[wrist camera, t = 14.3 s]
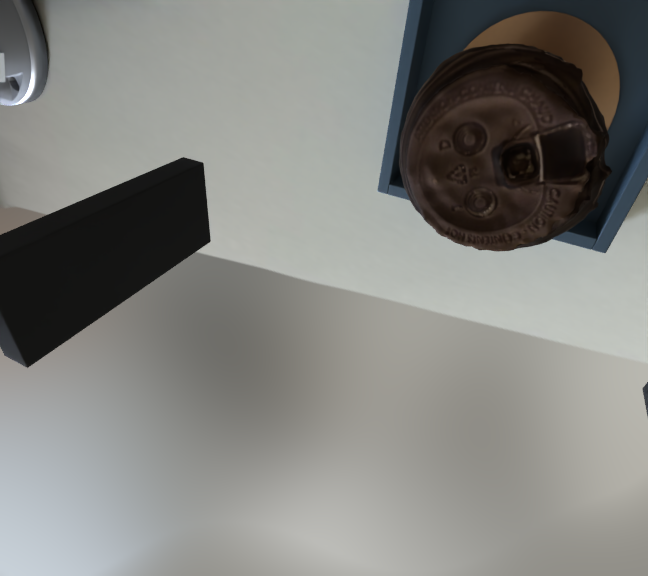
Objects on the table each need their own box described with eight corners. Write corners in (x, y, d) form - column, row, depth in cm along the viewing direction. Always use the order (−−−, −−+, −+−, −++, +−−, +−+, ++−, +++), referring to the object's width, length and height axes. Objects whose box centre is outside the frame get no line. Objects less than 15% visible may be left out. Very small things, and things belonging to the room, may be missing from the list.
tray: (392, 176, 34) (377, 191, 31) (471, -247, 21) (456, -282, 18) (603, 230, 29) (605, 253, 26) (871, -271, 16) (927, -322, 14)
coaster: (425, 165, 31) (424, 167, 31) (464, 0, 25) (463, 0, 25) (573, 201, 28) (573, 203, 28) (657, 23, 22) (658, 23, 22)
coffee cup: (642, 67, 23) (690, 119, 13) (546, 198, 28) (530, 302, 19) (493, 4, 24) (439, 9, 15) (428, 139, 30) (357, 209, 20)
